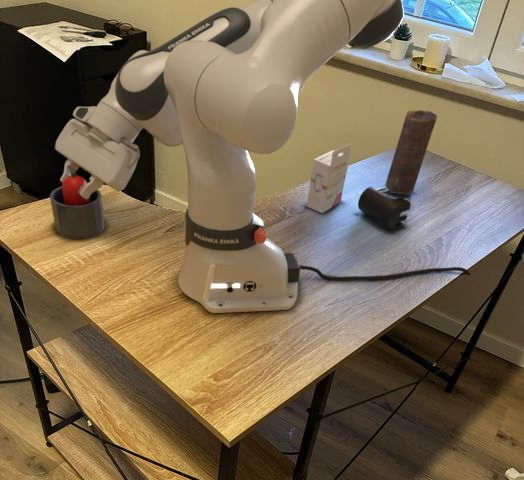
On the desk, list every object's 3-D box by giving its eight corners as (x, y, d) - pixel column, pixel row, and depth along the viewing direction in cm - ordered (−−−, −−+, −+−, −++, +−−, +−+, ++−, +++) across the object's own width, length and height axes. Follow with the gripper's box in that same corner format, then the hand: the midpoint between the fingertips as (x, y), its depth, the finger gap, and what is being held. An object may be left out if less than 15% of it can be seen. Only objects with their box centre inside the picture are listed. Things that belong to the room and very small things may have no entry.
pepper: (93, 205, 109) (89, 167, 104) (88, 216, 105) (83, 178, 100) (69, 202, 109) (63, 164, 103) (62, 214, 105) (56, 175, 100)
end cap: (354, 215, 126) (360, 188, 122) (374, 209, 130) (381, 182, 125) (384, 234, 121) (392, 207, 116) (405, 227, 124) (413, 201, 120)
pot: (108, 217, 113) (105, 186, 109) (98, 240, 106) (95, 209, 102) (62, 213, 113) (57, 182, 108) (49, 236, 106) (43, 204, 101)
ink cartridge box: (323, 195, 132) (335, 136, 122) (340, 202, 130) (353, 143, 120) (304, 206, 127) (315, 145, 117) (322, 214, 125) (334, 152, 115)
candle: (414, 200, 136) (440, 120, 122) (386, 197, 135) (409, 116, 122) (409, 187, 141) (433, 109, 128) (382, 184, 141) (403, 105, 127)
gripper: (153, 158, 101) (114, 219, 102) (93, 123, 110) (58, 179, 111) (132, 139, 95) (90, 203, 96) (71, 104, 105) (34, 163, 106)
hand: (72, 190), depth 104 cm, fingers closed on pepper, 5 cm apart
